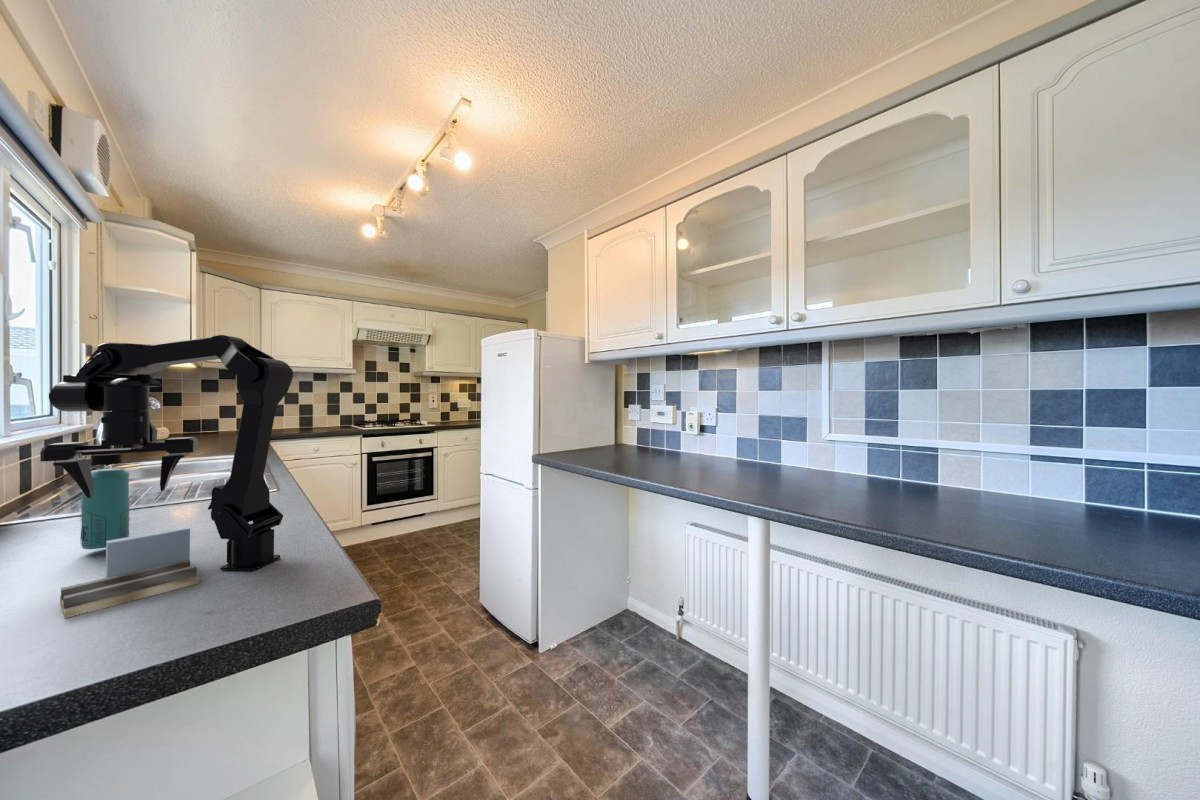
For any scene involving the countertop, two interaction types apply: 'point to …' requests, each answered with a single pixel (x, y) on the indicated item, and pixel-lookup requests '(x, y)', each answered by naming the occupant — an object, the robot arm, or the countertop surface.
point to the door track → (126, 587)
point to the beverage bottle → (105, 504)
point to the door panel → (147, 551)
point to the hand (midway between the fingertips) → (127, 494)
